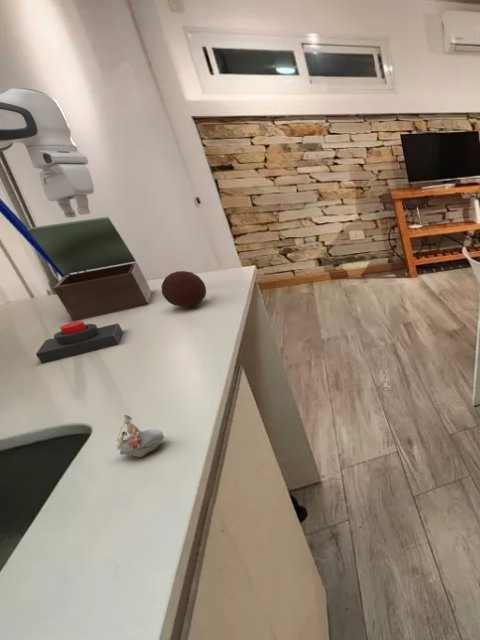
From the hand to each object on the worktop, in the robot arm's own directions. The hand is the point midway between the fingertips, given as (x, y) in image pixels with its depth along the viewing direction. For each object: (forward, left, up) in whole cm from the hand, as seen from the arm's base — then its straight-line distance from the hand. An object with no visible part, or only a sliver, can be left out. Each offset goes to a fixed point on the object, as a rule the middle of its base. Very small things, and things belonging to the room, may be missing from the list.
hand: (78, 215), depth 124 cm
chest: (-1, -8, -23) cm, 24 cm away
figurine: (+11, -100, -23) cm, 103 cm away
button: (-3, -40, -19) cm, 44 cm away
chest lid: (-1, -5, -7) cm, 9 cm away
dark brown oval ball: (+16, -27, -23) cm, 39 cm away
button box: (-3, -40, -23) cm, 46 cm away
